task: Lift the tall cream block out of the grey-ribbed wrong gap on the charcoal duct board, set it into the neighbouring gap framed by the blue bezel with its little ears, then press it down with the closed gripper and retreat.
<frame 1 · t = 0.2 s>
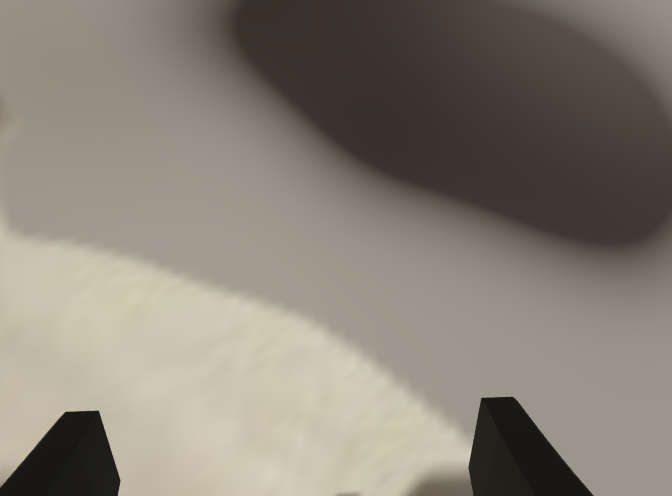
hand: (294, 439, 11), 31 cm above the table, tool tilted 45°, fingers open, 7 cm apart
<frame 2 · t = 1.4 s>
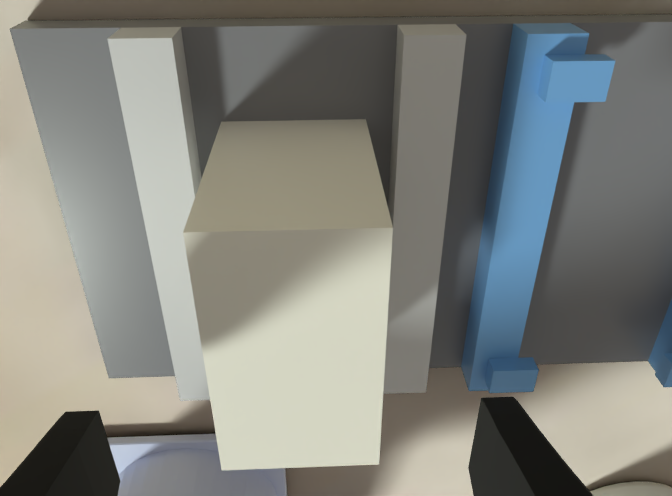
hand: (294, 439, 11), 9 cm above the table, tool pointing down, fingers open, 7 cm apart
tall cream block: (298, 229, 18), point 1 cm above the table, touching duct board
duct board: (452, 210, 19), on the table
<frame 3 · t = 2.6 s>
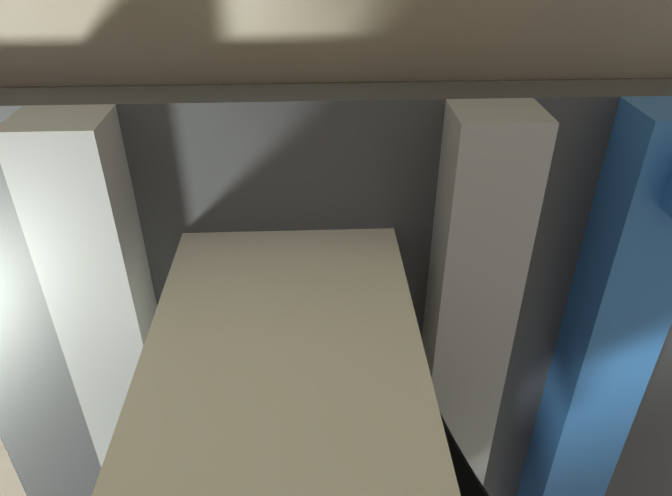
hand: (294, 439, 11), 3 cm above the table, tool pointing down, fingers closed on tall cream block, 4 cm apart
tall cream block: (295, 366, 13), point 1 cm above the table, touching duct board, gripper
duct board: (506, 330, 14), on the table
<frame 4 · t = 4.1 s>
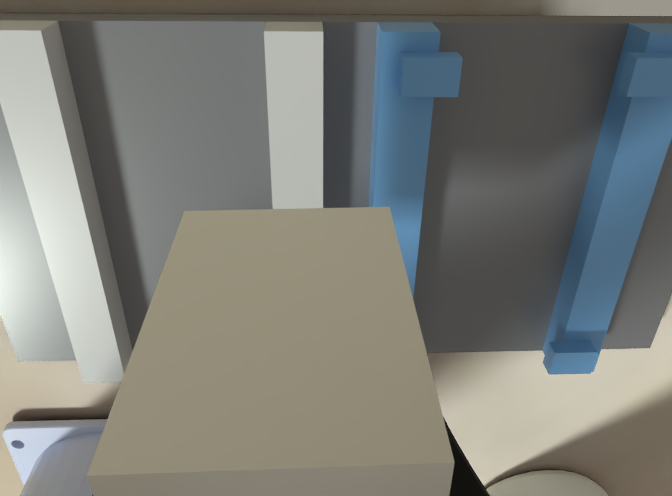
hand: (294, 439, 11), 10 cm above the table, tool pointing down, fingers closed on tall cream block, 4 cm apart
tall cream block: (294, 345, 13), point 8 cm above the table, touching gripper
duct board: (343, 201, 20), on the table
when the fingers open (4 cm above the table, at t = 6.0 s): tall cream block stays where it is, resting on duct board.
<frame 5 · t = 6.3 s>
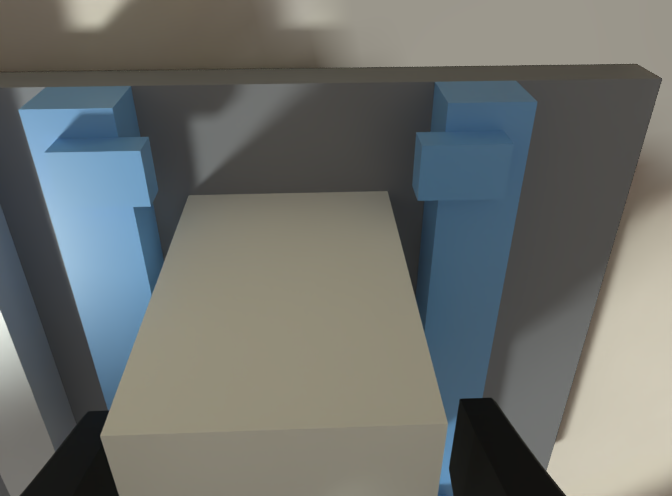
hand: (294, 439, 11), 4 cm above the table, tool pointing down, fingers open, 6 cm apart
tall cream block: (295, 327, 14), point 1 cm above the table, touching duct board
duct board: (94, 315, 15), on the table
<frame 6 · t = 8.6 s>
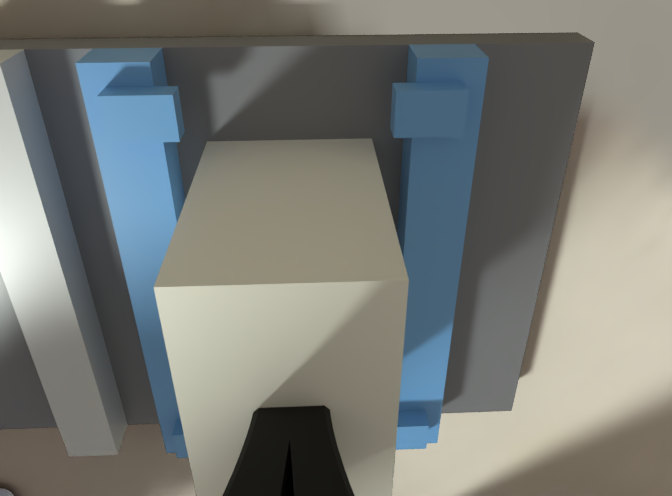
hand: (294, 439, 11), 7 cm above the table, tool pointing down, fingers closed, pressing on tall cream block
tall cream block: (295, 260, 16), point 1 cm above the table, touching duct board, gripper
duct board: (123, 253, 17), on the table
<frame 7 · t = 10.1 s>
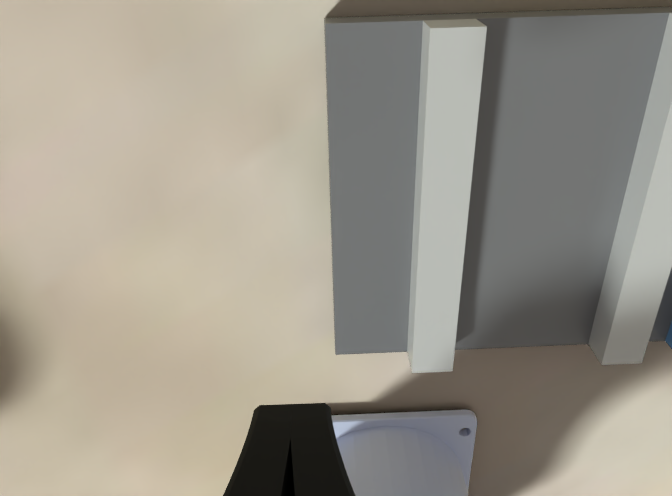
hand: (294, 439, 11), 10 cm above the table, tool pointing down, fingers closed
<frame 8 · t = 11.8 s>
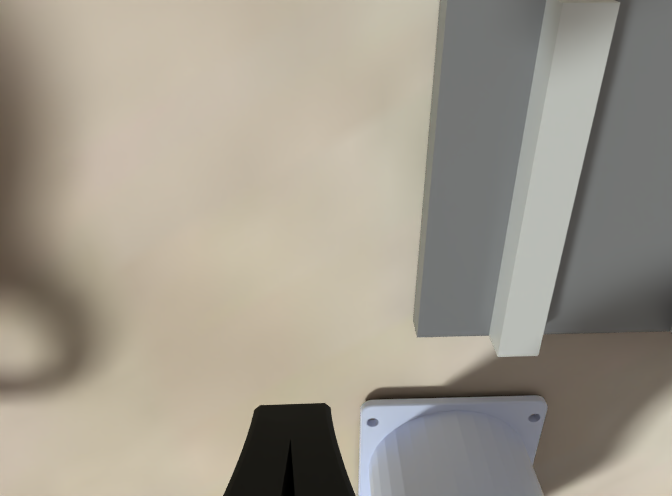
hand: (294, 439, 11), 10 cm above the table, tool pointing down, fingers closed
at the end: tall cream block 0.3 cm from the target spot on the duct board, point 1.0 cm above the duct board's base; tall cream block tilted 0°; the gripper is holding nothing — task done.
